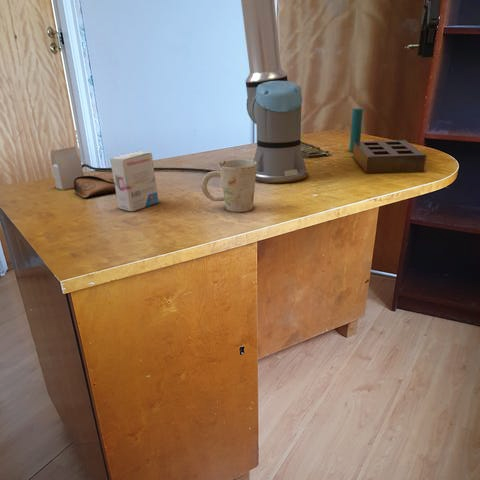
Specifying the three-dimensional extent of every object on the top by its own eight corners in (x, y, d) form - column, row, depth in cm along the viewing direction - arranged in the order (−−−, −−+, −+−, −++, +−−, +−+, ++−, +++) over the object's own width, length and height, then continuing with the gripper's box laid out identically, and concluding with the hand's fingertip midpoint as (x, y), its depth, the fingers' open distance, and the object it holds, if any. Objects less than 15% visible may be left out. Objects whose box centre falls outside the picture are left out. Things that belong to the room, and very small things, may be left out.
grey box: (85, 184, 136) (78, 147, 131) (62, 189, 132) (54, 151, 127) (78, 182, 139) (71, 145, 134) (56, 187, 135) (48, 149, 130)
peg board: (366, 173, 136) (367, 156, 134) (352, 156, 155) (354, 141, 153) (423, 171, 135) (426, 155, 133) (403, 155, 155) (405, 140, 152)
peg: (350, 152, 161) (353, 109, 154) (348, 150, 163) (351, 108, 157) (360, 152, 161) (363, 109, 154) (358, 150, 163) (361, 107, 157)
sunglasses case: (84, 197, 123) (75, 171, 123) (79, 206, 129) (71, 181, 129) (150, 185, 131) (142, 161, 131) (143, 193, 137) (135, 170, 137)
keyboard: (279, 146, 173) (279, 140, 172) (302, 144, 176) (302, 138, 175) (307, 158, 155) (307, 151, 154) (332, 155, 158) (332, 148, 157)
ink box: (145, 199, 121) (138, 149, 115) (159, 202, 118) (153, 151, 113) (117, 208, 116) (109, 156, 110) (131, 212, 113) (123, 158, 107)
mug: (257, 213, 109) (257, 167, 104) (201, 215, 109) (197, 169, 104) (257, 202, 116) (256, 158, 111) (204, 203, 116) (201, 160, 111)
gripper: (461, -44, 116) (445, 57, 127) (446, -32, 137) (433, 54, 148) (427, -42, 118) (414, 58, 128) (418, -31, 139) (407, 55, 150)
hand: (424, 56), depth 138 cm, fingers open, 13 cm apart
